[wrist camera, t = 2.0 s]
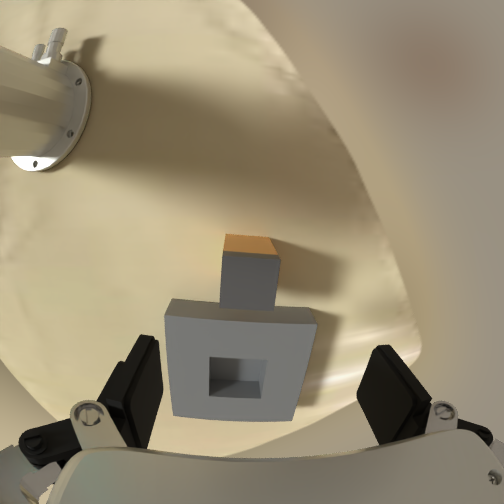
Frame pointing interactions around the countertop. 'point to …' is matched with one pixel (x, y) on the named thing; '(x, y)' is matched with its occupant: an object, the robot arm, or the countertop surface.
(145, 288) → the countertop surface
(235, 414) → the socket plate
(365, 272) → the countertop surface
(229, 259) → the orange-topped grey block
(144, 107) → the countertop surface
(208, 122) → the countertop surface
